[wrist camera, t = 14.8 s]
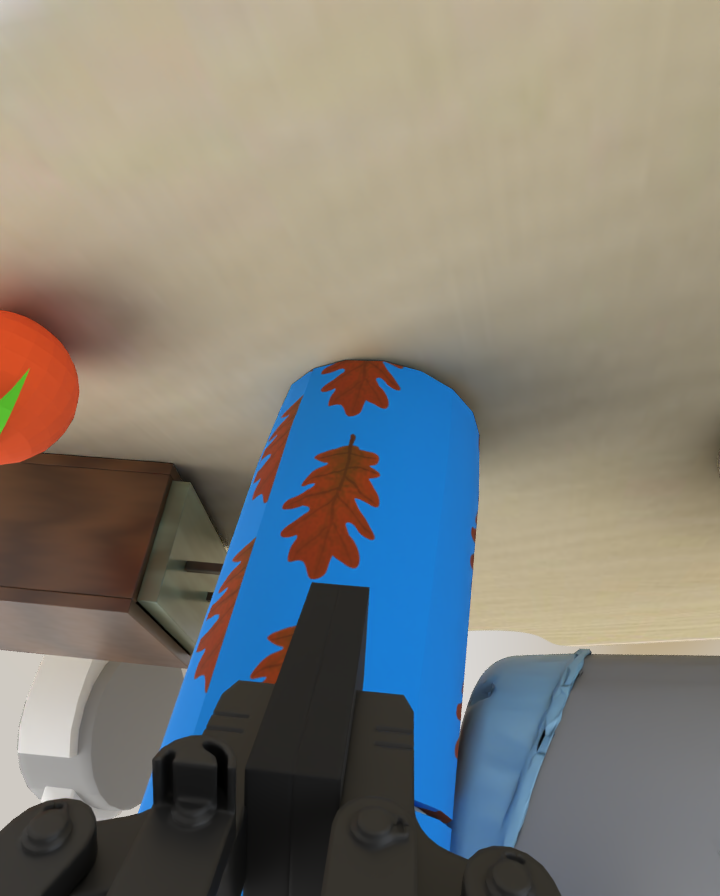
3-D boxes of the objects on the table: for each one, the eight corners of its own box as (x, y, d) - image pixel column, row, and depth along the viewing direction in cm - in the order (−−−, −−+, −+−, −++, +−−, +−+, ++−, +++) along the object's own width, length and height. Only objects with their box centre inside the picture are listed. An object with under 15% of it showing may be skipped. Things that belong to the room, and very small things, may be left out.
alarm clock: (57, 584, 63) (-28, 810, 53) (128, 584, 61) (53, 821, 50) (152, 634, 78) (100, 820, 67) (211, 636, 75) (167, 829, 65)
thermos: (464, 501, 36) (405, 1096, 22) (287, 471, 37) (119, 1023, 23) (502, 375, 28) (447, 1232, 13) (270, 341, 28) (-23, 1103, 14)
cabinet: (173, 463, 39) (127, 613, 34) (218, 548, 50) (190, 669, 45) (-47, 446, 40) (-123, 588, 35) (47, 533, 51) (1, 650, 46)
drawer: (257, 487, 39) (231, 609, 34) (282, 561, 49) (264, 662, 45) (-14, 465, 40) (-70, 581, 36) (67, 542, 50) (31, 638, 46)
